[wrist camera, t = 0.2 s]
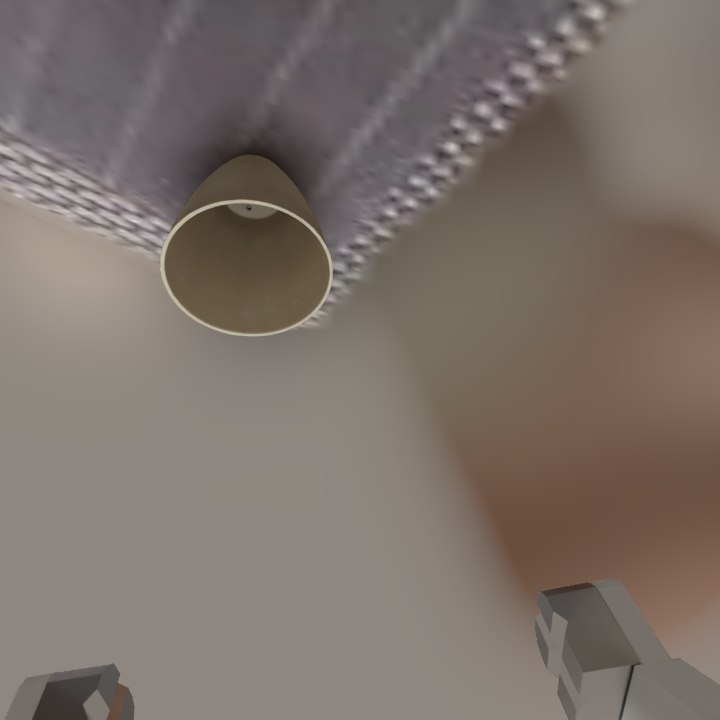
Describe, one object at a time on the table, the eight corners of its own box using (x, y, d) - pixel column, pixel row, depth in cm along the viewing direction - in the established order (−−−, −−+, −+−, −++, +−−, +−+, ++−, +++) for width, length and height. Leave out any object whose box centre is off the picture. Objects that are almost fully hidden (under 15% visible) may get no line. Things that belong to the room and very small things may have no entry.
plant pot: (160, 206, 58) (133, 298, 47) (220, 87, 50) (205, 164, 39) (278, 265, 65) (280, 357, 54) (348, 169, 57) (366, 254, 46)
